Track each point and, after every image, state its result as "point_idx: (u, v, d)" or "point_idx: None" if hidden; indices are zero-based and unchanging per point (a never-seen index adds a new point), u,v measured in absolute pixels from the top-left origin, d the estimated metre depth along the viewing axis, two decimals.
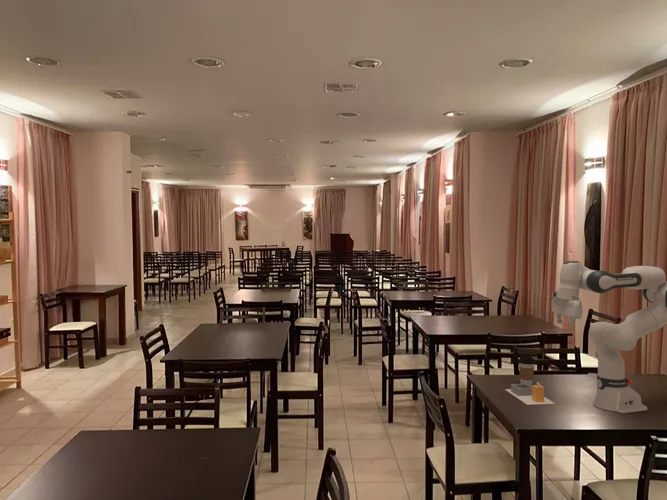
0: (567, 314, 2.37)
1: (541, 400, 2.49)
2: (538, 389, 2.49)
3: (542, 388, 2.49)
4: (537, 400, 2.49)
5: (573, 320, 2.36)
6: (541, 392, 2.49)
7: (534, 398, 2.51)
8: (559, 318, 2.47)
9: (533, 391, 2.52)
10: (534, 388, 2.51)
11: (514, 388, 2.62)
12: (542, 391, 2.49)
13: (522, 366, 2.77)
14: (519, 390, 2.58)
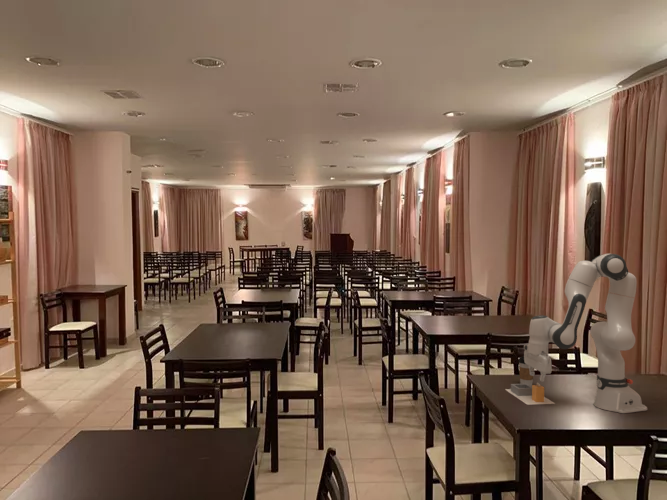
0: (538, 368, 2.46)
1: (541, 400, 2.49)
2: (538, 389, 2.49)
3: (542, 388, 2.49)
4: (537, 400, 2.49)
5: (543, 374, 2.45)
6: (541, 392, 2.49)
7: (534, 398, 2.51)
8: (531, 370, 2.56)
9: (533, 391, 2.52)
10: (534, 388, 2.51)
11: (514, 388, 2.62)
12: (542, 391, 2.49)
13: (522, 366, 2.77)
14: (519, 390, 2.58)
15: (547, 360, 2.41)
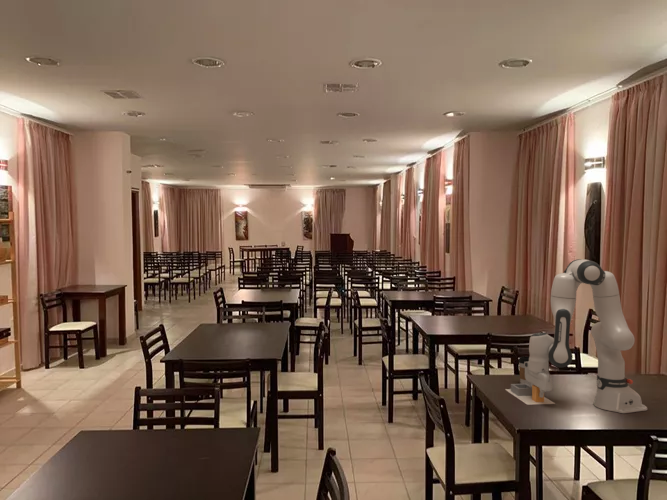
0: (539, 386, 2.47)
1: (541, 400, 2.49)
2: (538, 389, 2.49)
3: None
4: (537, 400, 2.49)
5: (542, 391, 2.47)
6: None
7: (534, 398, 2.51)
8: None
9: (533, 391, 2.52)
10: (534, 388, 2.51)
11: (514, 388, 2.62)
12: None
13: (522, 366, 2.77)
14: (519, 390, 2.58)
15: (548, 378, 2.41)
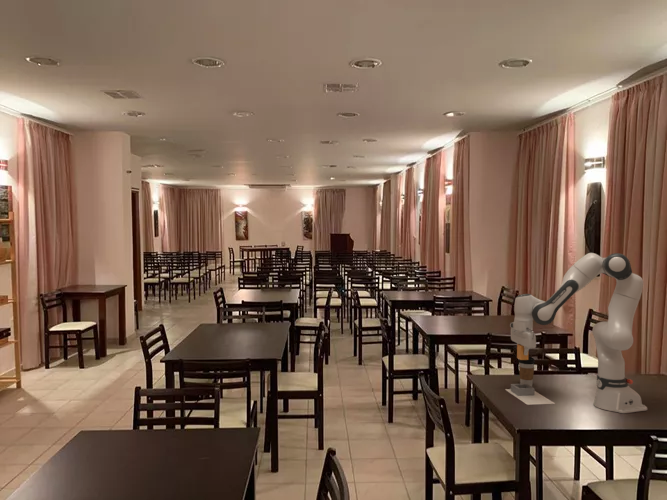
0: (523, 344, 2.58)
1: (525, 358, 2.60)
2: (523, 347, 2.60)
3: None
4: (522, 358, 2.60)
5: (527, 349, 2.58)
6: None
7: (519, 356, 2.62)
8: None
9: (518, 350, 2.63)
10: (519, 347, 2.62)
11: (514, 388, 2.62)
12: None
13: (522, 366, 2.77)
14: (519, 390, 2.58)
15: (531, 336, 2.52)
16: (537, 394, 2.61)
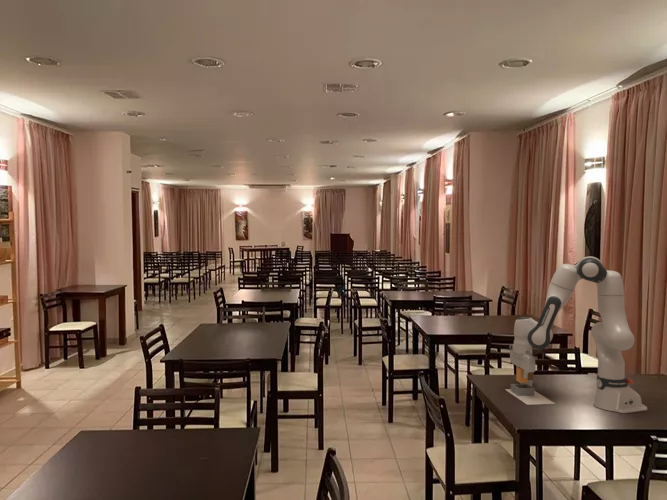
0: (522, 367, 2.58)
1: (525, 381, 2.61)
2: (522, 370, 2.60)
3: None
4: (521, 381, 2.61)
5: (526, 372, 2.58)
6: None
7: (518, 379, 2.62)
8: None
9: (517, 372, 2.63)
10: (518, 369, 2.62)
11: (514, 388, 2.62)
12: None
13: None
14: (519, 390, 2.58)
15: (531, 359, 2.53)
16: (537, 394, 2.61)
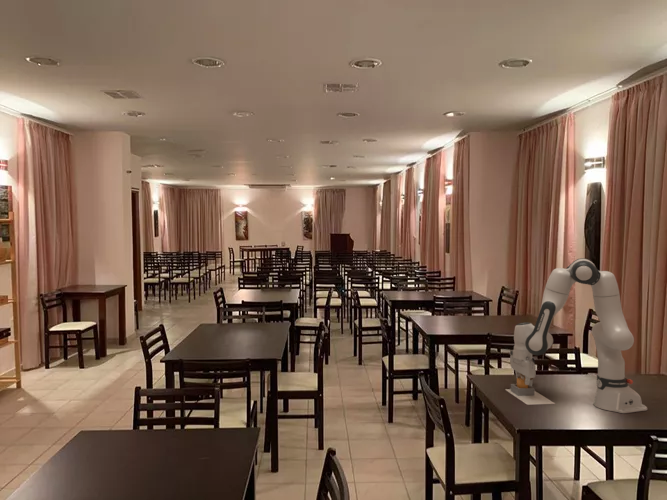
0: (523, 373, 2.58)
1: None
2: (522, 382, 2.61)
3: None
4: None
5: (528, 378, 2.57)
6: (525, 385, 2.61)
7: None
8: (518, 375, 2.67)
9: (517, 384, 2.63)
10: (518, 381, 2.62)
11: (514, 388, 2.62)
12: None
13: None
14: (519, 390, 2.58)
15: (531, 365, 2.53)
16: (537, 394, 2.61)
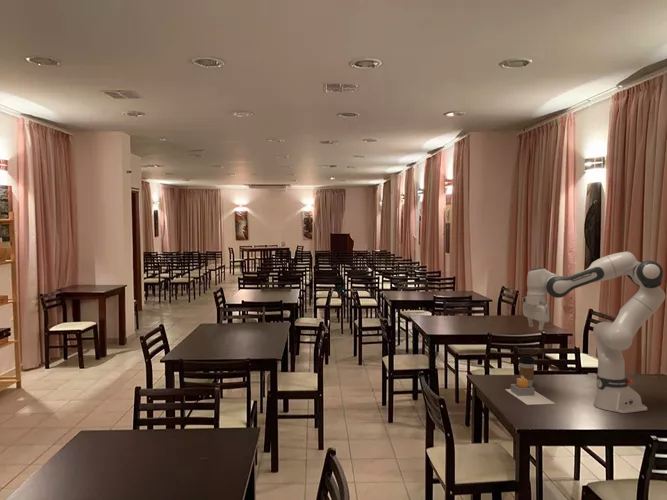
0: (536, 318, 2.55)
1: None
2: (522, 382, 2.61)
3: (526, 381, 2.61)
4: None
5: (542, 323, 2.53)
6: (525, 385, 2.61)
7: None
8: (530, 321, 2.64)
9: (517, 384, 2.63)
10: (518, 381, 2.62)
11: (514, 388, 2.62)
12: (526, 384, 2.61)
13: (522, 366, 2.77)
14: (519, 390, 2.58)
15: (545, 309, 2.49)
16: (537, 394, 2.61)
